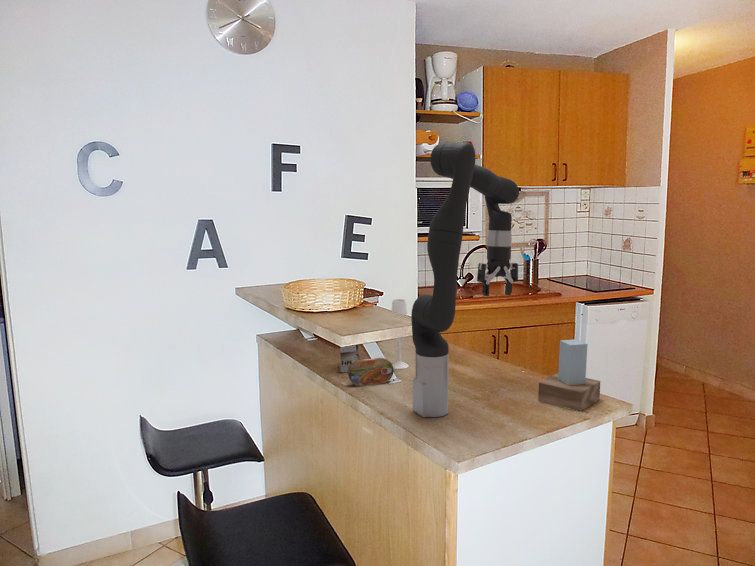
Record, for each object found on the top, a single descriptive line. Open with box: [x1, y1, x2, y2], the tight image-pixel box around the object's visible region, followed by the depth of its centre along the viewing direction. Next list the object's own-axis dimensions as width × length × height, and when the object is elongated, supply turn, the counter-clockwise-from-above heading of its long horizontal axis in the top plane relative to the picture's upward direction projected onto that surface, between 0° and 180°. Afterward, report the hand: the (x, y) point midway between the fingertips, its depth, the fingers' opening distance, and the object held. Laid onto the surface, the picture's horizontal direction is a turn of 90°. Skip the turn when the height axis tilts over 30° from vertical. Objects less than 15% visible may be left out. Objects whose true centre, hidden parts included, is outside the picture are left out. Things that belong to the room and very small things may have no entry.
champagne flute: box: [391, 298, 410, 370], centre depth 203 cm, size 7×7×24 cm
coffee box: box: [339, 344, 360, 373], centre depth 202 cm, size 9×6×16 cm
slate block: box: [557, 338, 588, 385], centre depth 168 cm, size 6×6×12 cm
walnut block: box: [537, 371, 601, 412], centre depth 169 cm, size 13×13×6 cm
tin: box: [347, 357, 395, 387], centre depth 186 cm, size 15×3×8 cm, turn 105°
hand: (497, 295), depth 183 cm, fingers open, 8 cm apart
